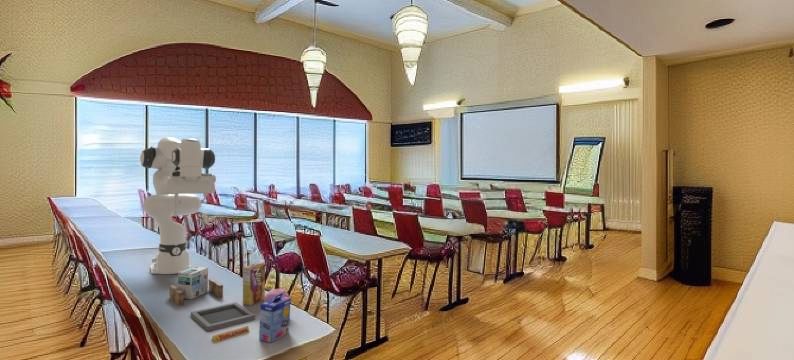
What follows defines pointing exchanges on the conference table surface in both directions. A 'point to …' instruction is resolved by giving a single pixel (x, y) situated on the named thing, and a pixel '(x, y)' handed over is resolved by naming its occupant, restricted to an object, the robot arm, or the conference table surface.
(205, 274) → the light bulb box
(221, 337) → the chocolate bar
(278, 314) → the ink cartridge box
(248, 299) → the candy box
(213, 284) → the wooden blocks
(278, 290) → the cupcake
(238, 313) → the grey shallow rectangular tray
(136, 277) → the conference table surface
